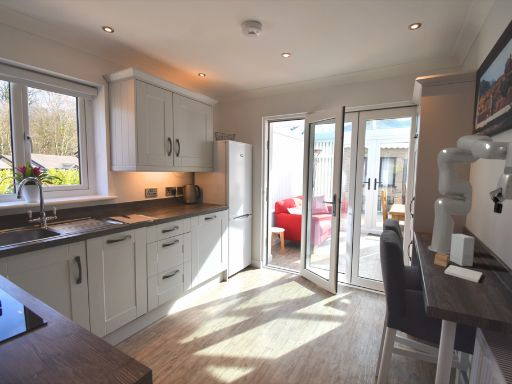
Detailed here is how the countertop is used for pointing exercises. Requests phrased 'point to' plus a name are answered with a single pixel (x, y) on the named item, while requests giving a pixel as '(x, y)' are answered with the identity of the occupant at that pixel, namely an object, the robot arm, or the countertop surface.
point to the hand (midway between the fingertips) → (510, 213)
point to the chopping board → (463, 273)
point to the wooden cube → (441, 259)
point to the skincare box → (462, 249)
